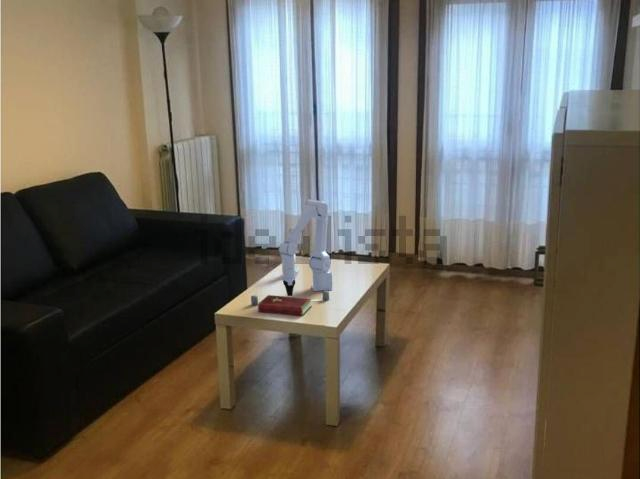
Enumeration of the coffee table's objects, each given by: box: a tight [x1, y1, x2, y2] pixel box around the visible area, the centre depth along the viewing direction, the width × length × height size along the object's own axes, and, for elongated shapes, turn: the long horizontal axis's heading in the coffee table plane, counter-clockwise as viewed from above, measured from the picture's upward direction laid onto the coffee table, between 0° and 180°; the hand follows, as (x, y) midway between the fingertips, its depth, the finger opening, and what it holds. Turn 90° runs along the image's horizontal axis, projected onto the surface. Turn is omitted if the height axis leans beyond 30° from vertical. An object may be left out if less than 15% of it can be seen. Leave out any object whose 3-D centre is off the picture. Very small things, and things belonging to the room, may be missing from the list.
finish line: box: [250, 290, 330, 307], centre depth 302 cm, size 36×3×4 cm, turn 97°
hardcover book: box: [257, 294, 312, 317], centre depth 293 cm, size 12×21×4 cm, turn 72°
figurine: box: [294, 253, 301, 277], centre depth 340 cm, size 7×9×15 cm
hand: (289, 295), depth 306 cm, fingers closed
